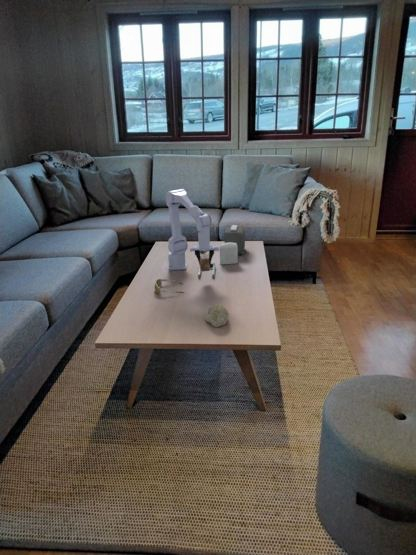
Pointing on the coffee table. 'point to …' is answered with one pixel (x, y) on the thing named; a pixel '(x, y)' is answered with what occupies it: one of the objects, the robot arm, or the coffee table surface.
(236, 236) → the alarm clock
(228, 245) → the photo printer
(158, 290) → the sunglasses
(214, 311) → the decorative item
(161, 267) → the coffee table surface
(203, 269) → the walnut block
